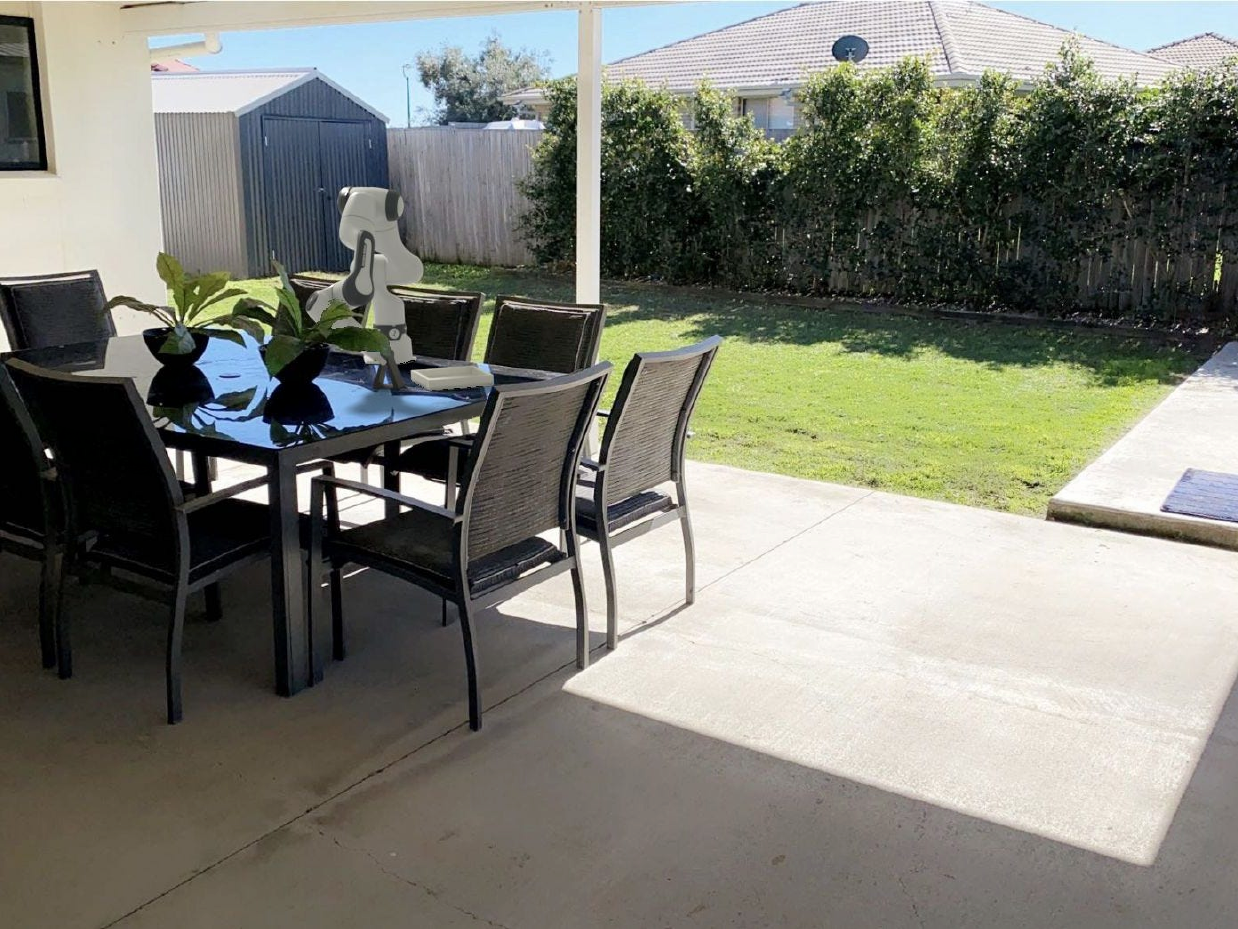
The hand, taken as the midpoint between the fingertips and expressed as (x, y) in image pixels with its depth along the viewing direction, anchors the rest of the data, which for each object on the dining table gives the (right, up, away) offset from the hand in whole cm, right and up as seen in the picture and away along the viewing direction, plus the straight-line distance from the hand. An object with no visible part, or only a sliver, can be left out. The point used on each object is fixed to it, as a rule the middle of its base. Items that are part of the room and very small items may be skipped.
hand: (380, 361), depth 375 cm
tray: (+22, -6, +10) cm, 25 cm away
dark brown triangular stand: (+2, -8, +3) cm, 9 cm away
